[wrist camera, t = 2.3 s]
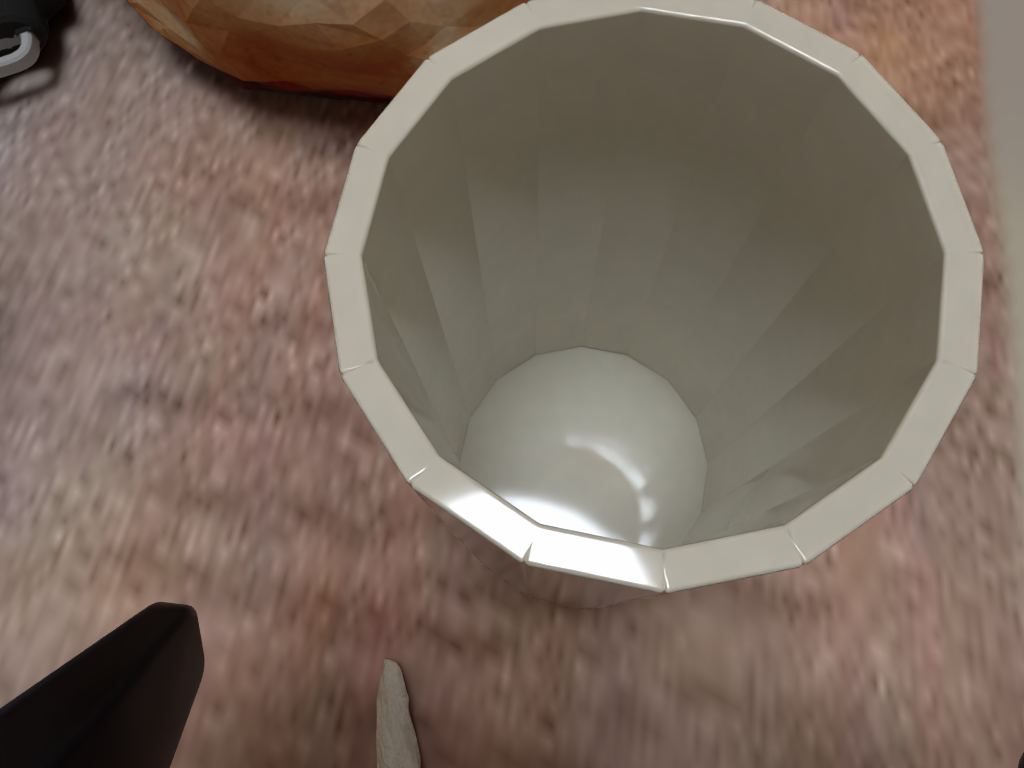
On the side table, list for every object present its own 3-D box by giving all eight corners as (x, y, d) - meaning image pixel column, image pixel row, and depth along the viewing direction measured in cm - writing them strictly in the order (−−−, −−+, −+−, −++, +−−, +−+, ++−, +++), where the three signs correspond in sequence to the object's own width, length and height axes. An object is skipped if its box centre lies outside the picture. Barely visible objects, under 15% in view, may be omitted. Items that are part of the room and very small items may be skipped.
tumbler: (747, 577, 20) (1084, 510, 8) (473, 631, 19) (377, 651, 7) (679, 320, 21) (867, -62, 9) (428, 367, 21) (293, 40, 9)
